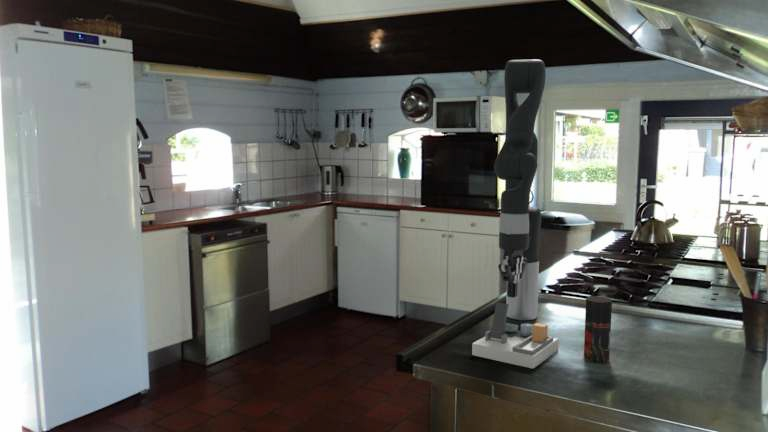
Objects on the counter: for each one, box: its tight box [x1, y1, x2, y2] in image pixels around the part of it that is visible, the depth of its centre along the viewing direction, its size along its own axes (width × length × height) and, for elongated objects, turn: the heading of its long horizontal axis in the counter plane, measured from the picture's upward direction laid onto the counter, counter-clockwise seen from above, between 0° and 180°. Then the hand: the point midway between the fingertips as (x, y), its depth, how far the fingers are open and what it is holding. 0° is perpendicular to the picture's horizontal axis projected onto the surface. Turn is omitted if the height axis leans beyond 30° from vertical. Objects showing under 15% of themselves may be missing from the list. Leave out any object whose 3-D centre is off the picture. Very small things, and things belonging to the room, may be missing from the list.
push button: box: [519, 322, 533, 336], centre depth 164 cm, size 3×3×2 cm
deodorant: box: [583, 295, 613, 365], centre depth 154 cm, size 6×6×15 cm
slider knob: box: [532, 322, 549, 342], centre depth 159 cm, size 2×3×4 cm
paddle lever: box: [490, 301, 509, 340], centre depth 160 cm, size 1×3×9 cm, turn 55°
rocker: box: [504, 322, 519, 332], centre depth 166 cm, size 4×3×2 cm
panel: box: [471, 330, 559, 370], centre depth 160 cm, size 16×16×5 cm
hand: (512, 296), depth 165 cm, fingers closed
